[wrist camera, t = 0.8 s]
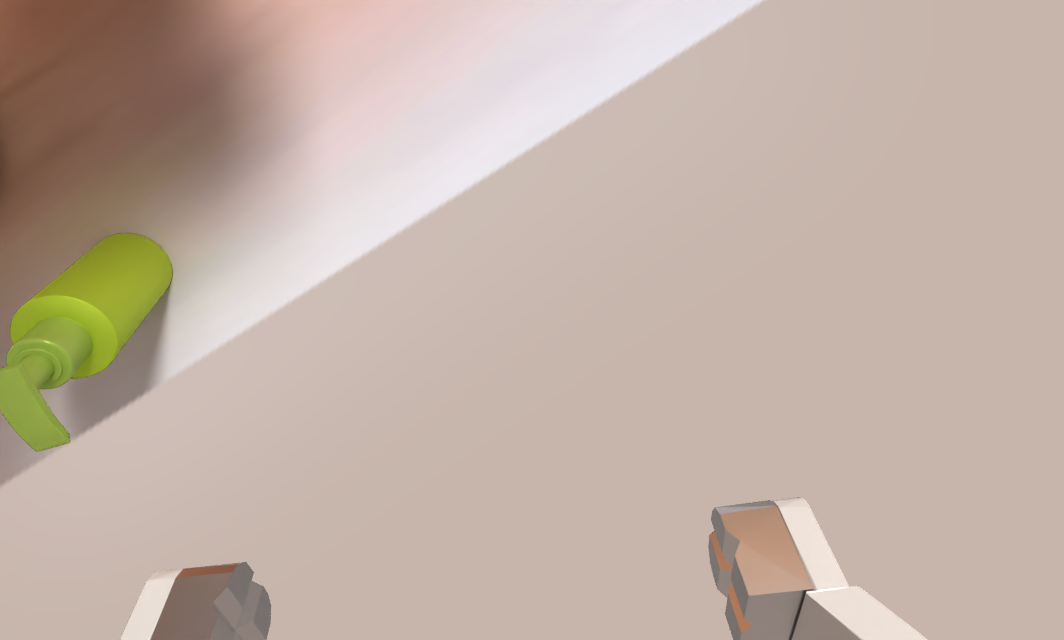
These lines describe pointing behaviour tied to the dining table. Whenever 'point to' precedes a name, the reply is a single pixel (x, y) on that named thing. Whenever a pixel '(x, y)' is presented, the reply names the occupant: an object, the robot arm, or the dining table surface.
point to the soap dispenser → (78, 329)
